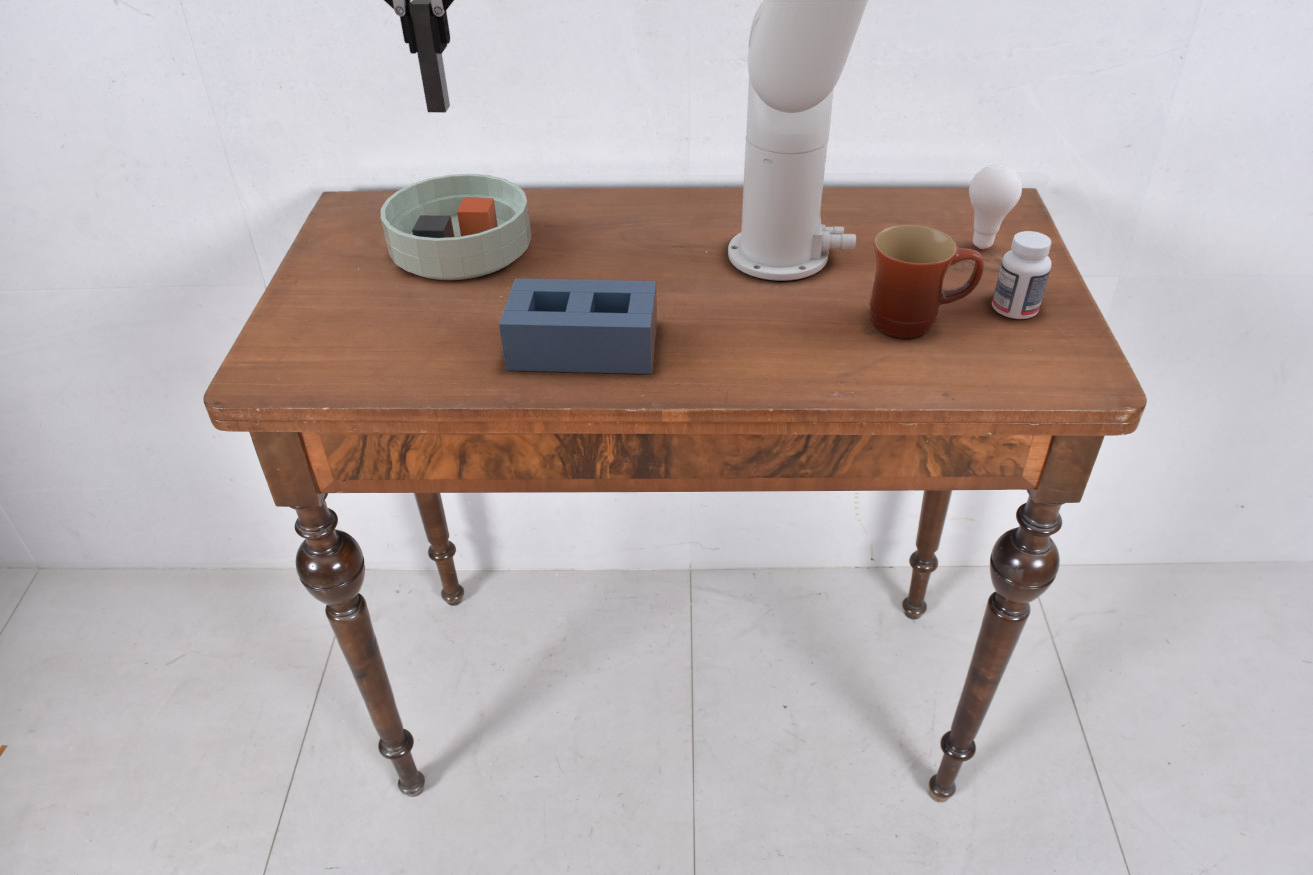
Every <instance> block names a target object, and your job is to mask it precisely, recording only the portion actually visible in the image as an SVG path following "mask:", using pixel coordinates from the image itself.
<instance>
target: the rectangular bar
mask: <svg viewBox="0 0 1313 875" xmlns="http://www.w3.org/2000/svg"><path fill="white" fill-rule="evenodd" d="M409 9H410V14H411V19H412V24H413V30H414V36H415V42H416V47H417V52H416V55H417V60H418V65H419V71H420V76H421V82H422V87H423V94H424V100H425V105H426V111H427V113H447V111H448V110H449V108H450V107H451V103H450V97H449V89H448V83H447V78H446V71H445V64H444V59H443V53H442V54H437V53H435V50H434V44H433V38H432V32H431V26H430V17H431V16H432V3H431V0H411V3H410V4H409Z"/></svg>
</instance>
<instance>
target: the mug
mask: <svg viewBox="0 0 1313 875" xmlns="http://www.w3.org/2000/svg"><path fill="white" fill-rule="evenodd" d="M872 242H873V249H874V255H875V260H876V261H875V264H876V265H875V266H876V268H875V275H874V279H873V285H872V289H871V296H870V300H869V319H870V322H871V324H872V325H873V326H874V327H875V328H876V329H877V330H878V331H880V332H881V333H883V334H885V335H887V336H890V337H892V338H896V339H913V338H916V337H920V336H922V335H925V334H926V333H928V332H929V331H930V330H932V328H933V326H934V324H935V322H936V320H937V319H936V318H937V316H938V315H939V308H940V306H942V305H947V304H952V303H954V302H956V301H959V300H961V299H965V298H966V297H967V296H969V295H970V294H971V293H972V292H973V291H974V290H975V289H976V288H977V286H978V285H979V283H980V281H981V280H982V278H983V274H984V270H985V261H984V258H983V256H982V254H981V253H980V252H979V251H977V250H976V249H973V248H964V247H958V243H957V242H956V240H955V239H954V238H953V237H952V236H950V235H949V234H948V233H946V232H944V231H942V230H939V229H937V228H934V227H931V226H926V225H920V224H897V225H892V226H888V227H885V228H883V229H881V230H879V231H878V232H877V233H876V234H875V236H874V238H873V241H872ZM962 261H974V266H973V270H972V272H971V274H970V276H969V278H968V280H966V282H965V283H964V284H963V285H961V286H960V287H957V288H954V289H943V285H944V280H945V278H946V274H947V272H948V270H949V268H950V267H951V266H952V265H955V264H957V263H960V262H962Z"/></svg>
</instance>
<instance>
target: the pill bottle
mask: <svg viewBox="0 0 1313 875" xmlns="http://www.w3.org/2000/svg"><path fill="white" fill-rule="evenodd" d="M1012 238H1013V239H1012V242H1011V246H1010V247H1011V248H1010V249H1009V250H1007V252H1006V253H1005V254H1004V255H1003V257H1002V259H1001V263H1000V267H999V271H998V276H997V280H996V284H995V288H994V292H993V296H992V300H991V306H992V308H993V310H994V311H995V312H997V313H998V314H999V315H1001V316H1004V317H1006V318H1009V319H1015V320H1026V319H1027V320H1028V319H1030V318H1033V317H1035V316H1036V315H1037V314H1038V313H1039V311H1040V308H1041V305H1042V302H1043V299H1044V295H1045V292H1046V287H1047V283H1048V280H1049V277H1050V273H1051V269H1052V260H1051V258H1050V256H1049V254H1050V250H1051V247H1052V239H1051V238H1050V237H1049V236H1048V235H1046V234H1044V233H1042V232H1038V231H1032V230H1025V231H1019V232H1017V233H1015V234H1014V236H1013V237H1012Z"/></svg>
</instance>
